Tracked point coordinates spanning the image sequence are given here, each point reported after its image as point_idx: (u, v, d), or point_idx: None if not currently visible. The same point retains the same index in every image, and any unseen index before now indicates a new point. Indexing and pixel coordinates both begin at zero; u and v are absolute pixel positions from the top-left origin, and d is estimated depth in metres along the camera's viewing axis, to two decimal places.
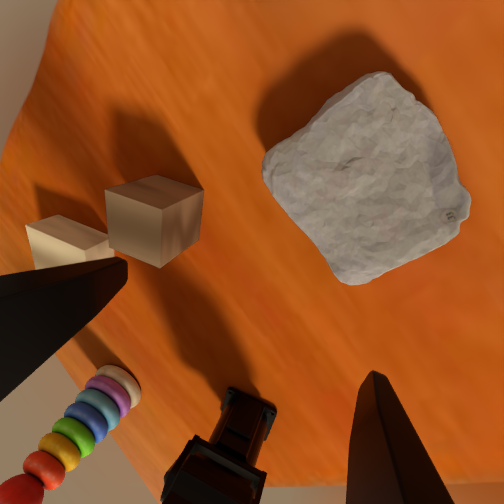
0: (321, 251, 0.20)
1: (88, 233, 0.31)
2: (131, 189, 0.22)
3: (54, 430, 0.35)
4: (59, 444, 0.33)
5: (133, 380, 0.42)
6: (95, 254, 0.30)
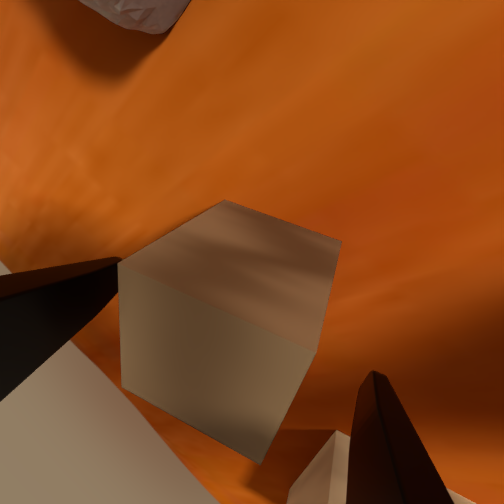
0: None
1: (317, 469, 0.15)
2: None
3: None
4: None
5: None
6: None
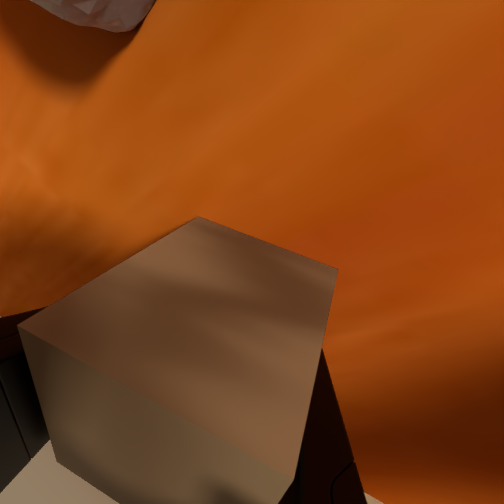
0: None
1: None
2: None
3: None
4: None
5: None
6: None
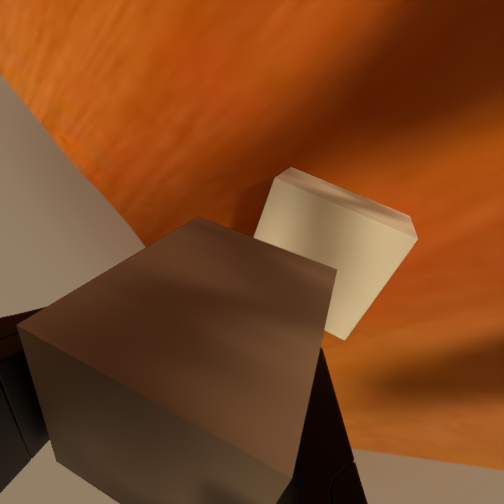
0: None
1: None
2: None
3: None
4: None
5: None
6: (298, 180, 0.16)
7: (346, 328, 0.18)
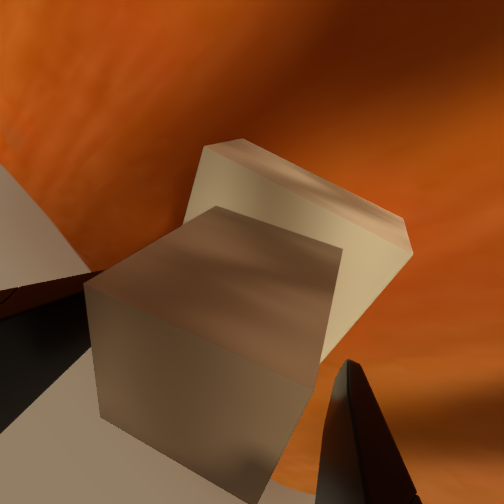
0: None
1: None
2: None
3: None
4: None
5: None
6: (243, 155, 0.11)
7: None
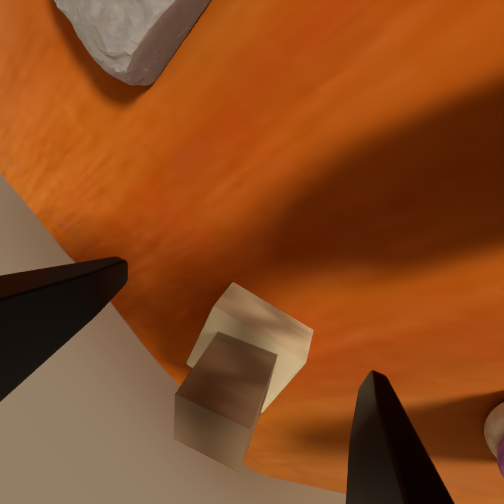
0: None
1: None
2: None
3: None
4: None
5: None
6: (232, 303, 0.22)
7: None
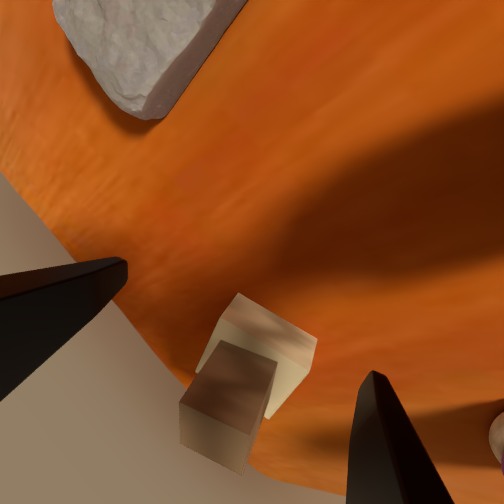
0: (203, 16, 0.15)
1: None
2: None
3: None
4: None
5: None
6: (238, 314, 0.23)
7: (269, 412, 0.25)
